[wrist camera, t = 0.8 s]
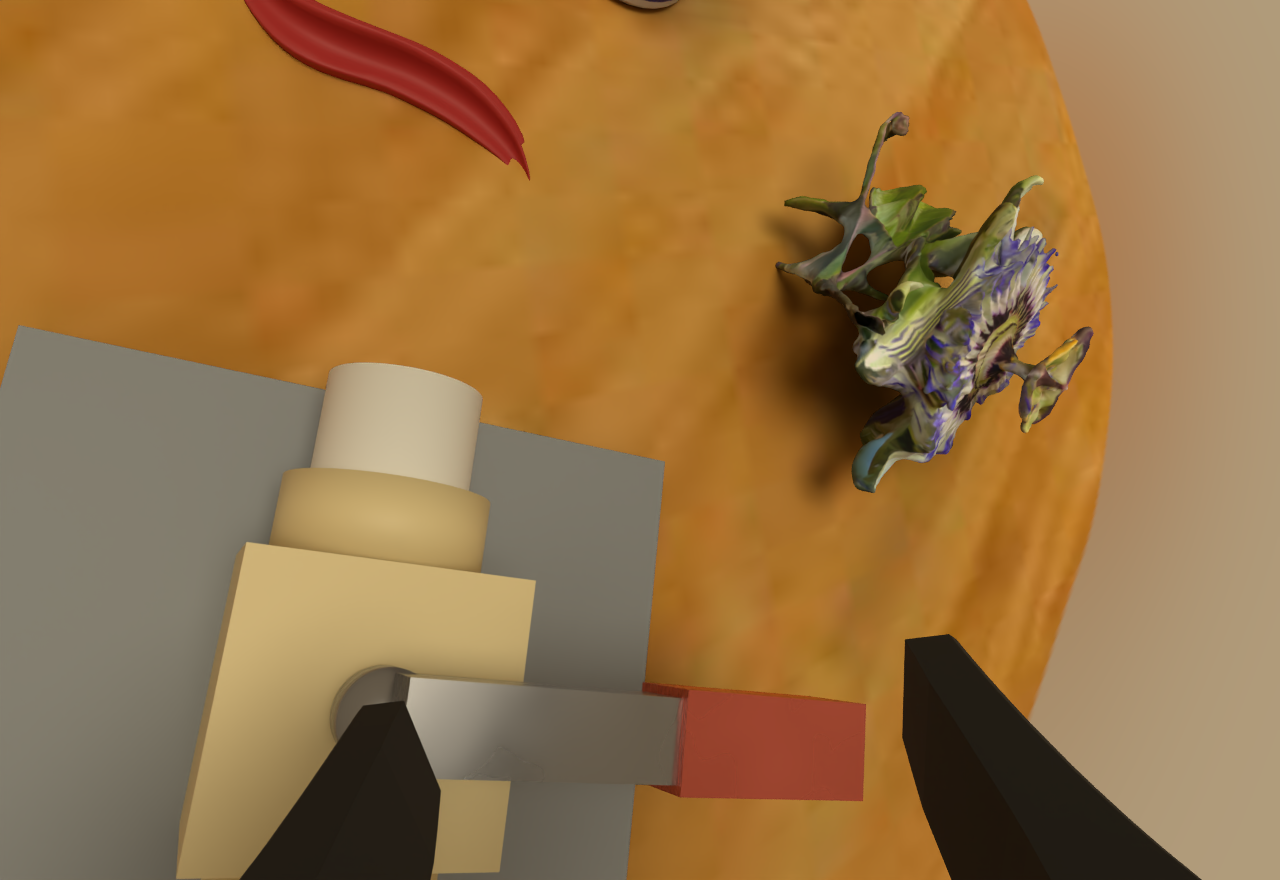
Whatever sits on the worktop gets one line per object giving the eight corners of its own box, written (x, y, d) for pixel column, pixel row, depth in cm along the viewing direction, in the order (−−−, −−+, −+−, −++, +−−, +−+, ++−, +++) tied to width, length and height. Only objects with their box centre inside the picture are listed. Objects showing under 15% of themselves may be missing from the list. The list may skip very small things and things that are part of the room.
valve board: (597, 986, 26) (706, 1088, 20) (-180, 1053, 18) (-342, 1245, 12) (648, 466, 29) (750, 435, 24) (27, 338, 22) (-28, 249, 16)
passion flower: (803, 438, 40) (922, 571, 29) (665, 256, 35) (744, 330, 24) (1004, 285, 38) (1210, 363, 27) (886, 76, 34) (1074, 70, 23)
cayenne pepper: (175, -44, 26) (174, -90, 24) (288, -109, 28) (295, -156, 26) (470, 250, 28) (487, 227, 27) (554, 171, 30) (575, 145, 29)
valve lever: (320, 767, 17) (338, 790, 15) (340, 655, 18) (360, 662, 16) (797, 782, 22) (862, 800, 20) (801, 695, 23) (865, 704, 21)
